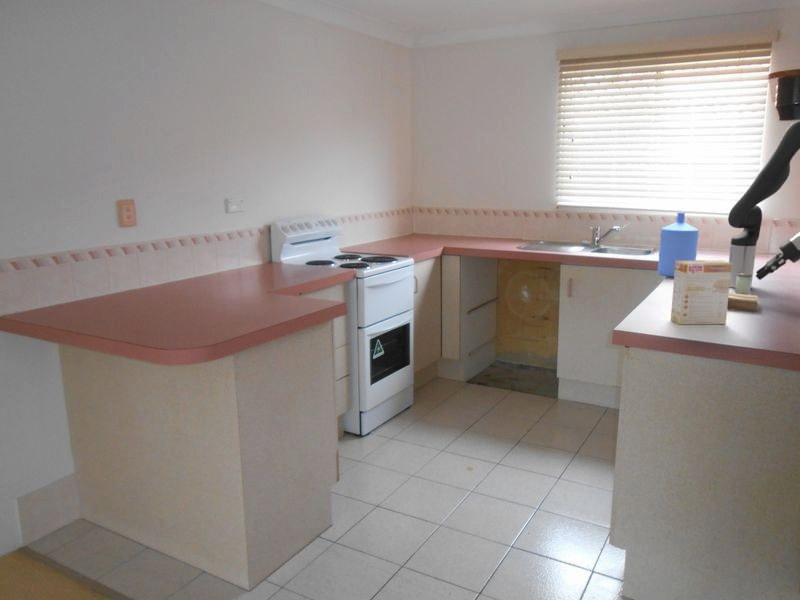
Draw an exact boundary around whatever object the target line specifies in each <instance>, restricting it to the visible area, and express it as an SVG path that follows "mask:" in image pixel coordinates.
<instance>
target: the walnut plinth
mask: <svg viewBox="0 0 800 600" xmlns="http://www.w3.org/2000/svg"><path fill="white" fill-rule="evenodd" d="M757 305H758V295H755V294H750V295H747V294H735V292H733V293H732V292H729V296H728V306H727V310H731V309H734V310H733V311H741V310H743V311H744V312H752V313H755V312H757V307H758V306H757ZM743 311H742V312H743Z"/></svg>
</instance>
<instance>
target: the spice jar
mask: <svg viewBox="0 0 800 600" xmlns="http://www.w3.org/2000/svg"><path fill="white" fill-rule="evenodd" d="M751 278H752V274H749V273H737V279H736V288H735V292H734V293H735V294H747V295H751V288H752V287H751ZM750 287H751V288H750Z"/></svg>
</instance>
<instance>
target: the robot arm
mask: <svg viewBox="0 0 800 600" xmlns="http://www.w3.org/2000/svg"><path fill="white" fill-rule="evenodd" d="M799 150H800V120H797V121H794V122H792V123H791V124H789V126H788V127H787V129H786V130H785V132H784V133H783V135H782V137H781V139H780V141H779V142H778V145H777V147H776V149H775V150H774V151H773V153H772V154H771V156H770V157H769V159H767V162H766V163H765V165H764V166H763V167H762V168H761V170H760V171H759V173H758V174H757V176H756V178H755V179H754V181H753V182H752V183H751V185H750V186H749V188H748V189H747V191H745V193H744V194H742V196H741V197H740V198H739V200H738V201H737V202H736V203H735V204H734V206H733V207H732V208H731V209H730V211H729V213H728V220H727V221H728V224H729V225H730V227H732V228H735V229H743V230H742V232H741V233H739V234H737V235H735V236H732V238H731V240H730V248H729V259H728V262H729V263H732V266H731V276H730V286H729V288H732V289H733V288H735V289H736V279H737V273H749V274H752V278H751V287H750V289H751V288H752V286H753V277H754V269H755V262H756V261H755V260H756V253H757V252H756V251H757V245H758V244H757V243H758V241H759V237H760V232H761V228H762V227H761V226H762V221H763V211H762V209H761V207H760V206H759V205H758V204H761V202H763V201H765V200H766V199H768V198H770V197H771V196H773V195H775V194H776V193H778V191H780V190H781V188H782V187H783V186H784V184H785V182H786V181H787V180H788V178H789V176H790V170H791V161H792V159H793V158H794V156H795V155H796V153H798V151H799ZM778 248H779V250H780V251H781V252H780V253H778V254H776V255H775V256H773V257H772V258H771V259H769V260H768V261H767V262H766V263H765V264H764V265H763V266H762V267H761V268H759V269H758V270H756V274H755V277H756V278H757V280H760V281H761V280H763V279H764V278H765V277H767V276H768V275H769V274H773V273H774V272H775V271H777V270H779V269H780V268H781V267H783V266H785V265H786V264H787V261H788V260H790V262H792V263H793V264H795V263H797V262H798V261H799V260H800V232H798V233H797V234H795V235H794V236H792V237H791V238H789V239H788V240H786V242H784V243H782V244H781V245H780V246H779V247H778Z"/></svg>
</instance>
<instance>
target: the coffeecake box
mask: <svg viewBox="0 0 800 600" xmlns="http://www.w3.org/2000/svg"><path fill="white" fill-rule="evenodd" d="M731 266H732V263H729V261H725V260H723V259H713V260H711V259H710V260H709V259H708V260H702V259H701V260H699V259H698V260H687V261H676V263H675V274H674V277H673V287H672V288H673V290H672V299H671V310H670V311H671V312H670V313H671V314H670V321H672V320H673V321H672V322H674V323H676V324H678V325H680V324H681V325H726V323H727V315H728V309H727V306H728V296H729V293H730V287H729V286H730V276H731Z"/></svg>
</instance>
